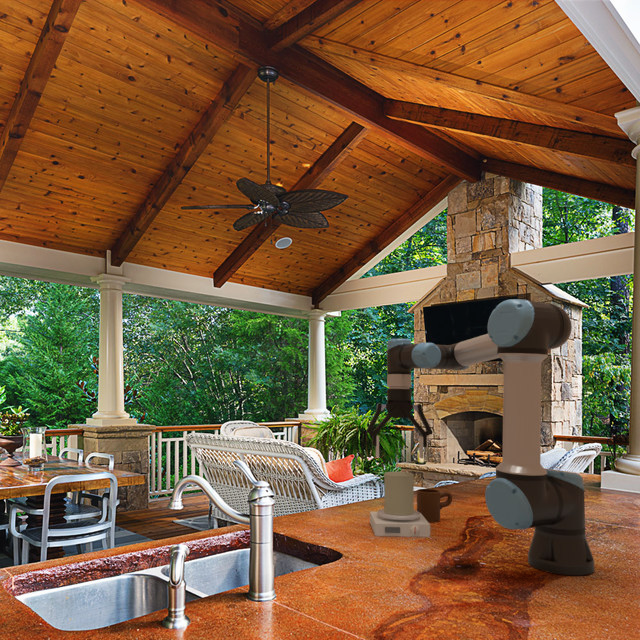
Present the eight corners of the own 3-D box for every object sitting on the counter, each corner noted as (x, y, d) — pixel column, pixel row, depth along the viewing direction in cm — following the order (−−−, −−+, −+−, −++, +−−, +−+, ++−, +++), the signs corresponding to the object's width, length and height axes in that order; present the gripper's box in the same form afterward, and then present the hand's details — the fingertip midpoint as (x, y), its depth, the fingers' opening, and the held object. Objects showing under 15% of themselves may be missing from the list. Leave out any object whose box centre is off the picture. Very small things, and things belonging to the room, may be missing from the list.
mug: (448, 517, 194) (448, 488, 195) (456, 522, 187) (456, 492, 188) (413, 517, 192) (413, 488, 193) (420, 522, 185) (420, 492, 186)
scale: (430, 537, 167) (430, 519, 168) (375, 536, 167) (375, 518, 167) (420, 523, 183) (420, 507, 184) (370, 523, 183) (370, 506, 184)
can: (413, 516, 171) (413, 475, 172) (382, 514, 172) (382, 473, 174) (414, 510, 180) (414, 470, 181) (385, 508, 181) (385, 469, 183)
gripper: (436, 388, 184) (437, 456, 181) (358, 387, 184) (358, 455, 181) (441, 388, 177) (442, 459, 174) (360, 387, 176) (359, 458, 174)
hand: (399, 457), depth 178 cm, fingers open, 13 cm apart
